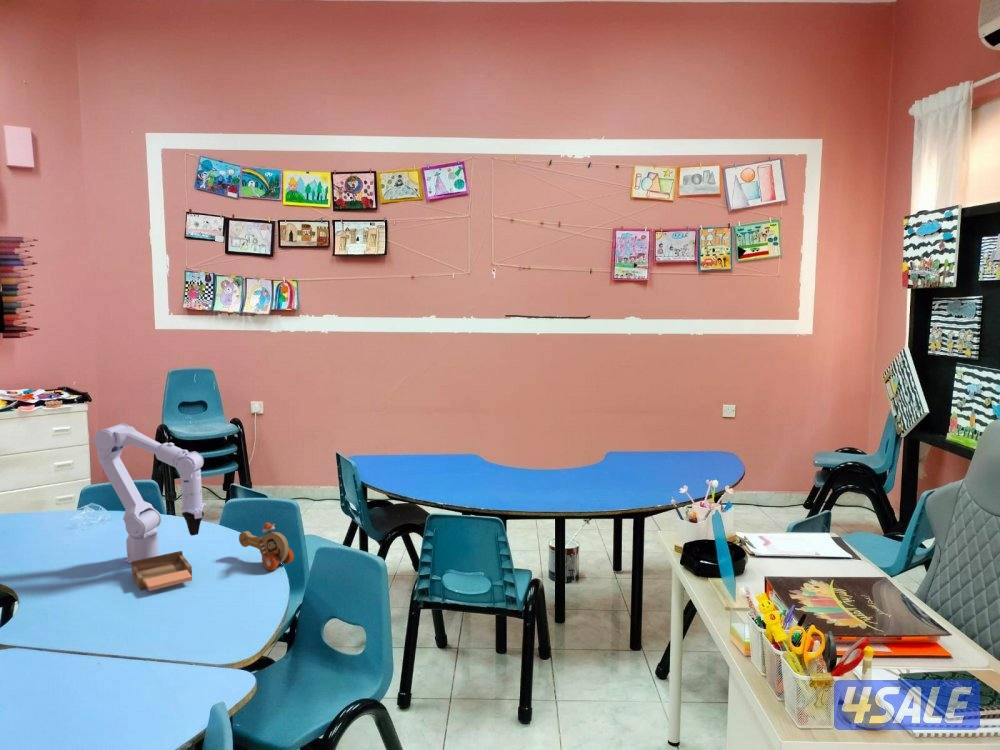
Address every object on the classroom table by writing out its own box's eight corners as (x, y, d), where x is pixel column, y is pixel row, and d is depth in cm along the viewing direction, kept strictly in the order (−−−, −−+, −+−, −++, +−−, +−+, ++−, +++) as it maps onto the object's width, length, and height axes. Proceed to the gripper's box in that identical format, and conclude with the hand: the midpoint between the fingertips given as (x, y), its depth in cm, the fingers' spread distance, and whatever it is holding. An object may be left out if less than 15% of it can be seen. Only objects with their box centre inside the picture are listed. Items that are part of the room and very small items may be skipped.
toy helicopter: (276, 573, 209) (274, 530, 207) (230, 559, 219) (228, 517, 217) (297, 564, 216) (295, 521, 214) (251, 550, 226) (249, 510, 224)
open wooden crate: (132, 576, 206) (131, 561, 206) (182, 564, 215) (181, 550, 214) (140, 590, 197) (139, 575, 196) (192, 577, 205) (191, 563, 205)
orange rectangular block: (144, 579, 197) (148, 586, 193) (187, 569, 204) (191, 576, 200) (144, 583, 197) (148, 590, 193) (187, 573, 204) (192, 580, 200)
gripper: (211, 495, 209) (213, 538, 211) (199, 484, 221) (201, 525, 223) (186, 500, 205) (189, 543, 207) (175, 488, 216) (178, 529, 218)
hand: (194, 534), depth 214 cm, fingers closed
